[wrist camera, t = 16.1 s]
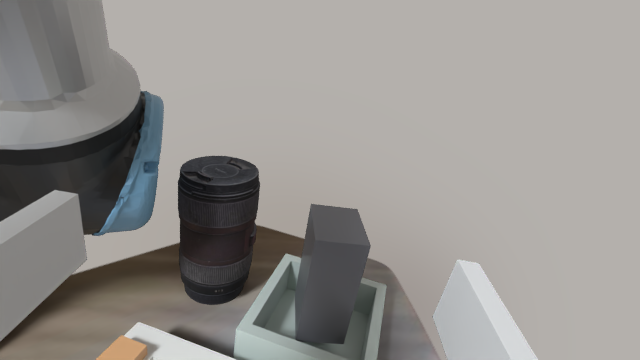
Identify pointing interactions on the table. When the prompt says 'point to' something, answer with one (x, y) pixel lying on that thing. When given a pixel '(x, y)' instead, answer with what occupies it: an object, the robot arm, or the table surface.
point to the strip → (156, 347)
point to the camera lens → (216, 226)
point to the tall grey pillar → (329, 274)
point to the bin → (279, 322)
